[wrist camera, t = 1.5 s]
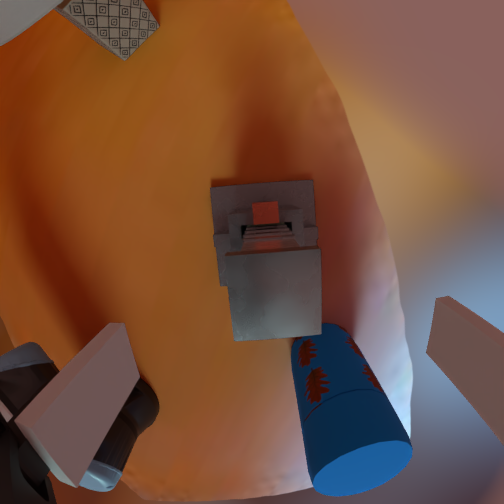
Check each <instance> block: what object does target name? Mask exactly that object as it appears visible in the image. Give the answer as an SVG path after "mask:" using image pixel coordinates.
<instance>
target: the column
mask: <svg viewBox="0 0 504 504" xmlns="http://www.w3.org/2000/svg"><path fill="white" fill-rule="evenodd" d="M224 257H225V267H226V276H227V285H228V294H229V302H230V310H231V319H232V327H233V335H234V341H248V340H264V339H277V338H289V337H300V336H310V335H319V334H321V323H322V282H321V249H320V248H319V247H318V246H317V245H316V246H302V247H300V246H299V244H298V243H297V242H296V237H295V235H294V234H292V231H291V230H289V227H287V226H286V224H284V222H279V223H269V224H256V225H254V224H253V225H247V227H246V230H245V234H244V235H243V238H242V249H241V251H237V252H226V254H225V256H224Z"/></svg>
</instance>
